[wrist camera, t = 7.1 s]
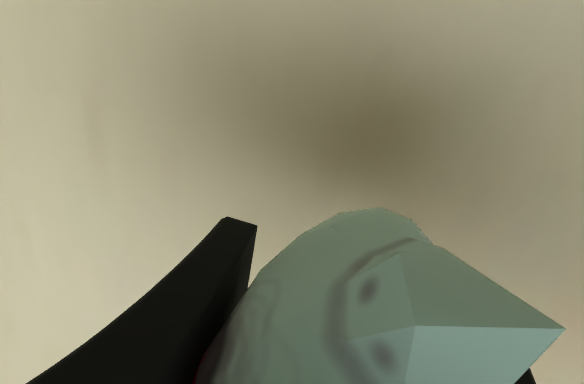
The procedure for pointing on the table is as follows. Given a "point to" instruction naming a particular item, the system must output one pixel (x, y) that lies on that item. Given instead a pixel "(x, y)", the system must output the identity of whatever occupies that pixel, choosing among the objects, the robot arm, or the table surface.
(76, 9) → the table surface
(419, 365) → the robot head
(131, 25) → the table surface
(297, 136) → the table surface
